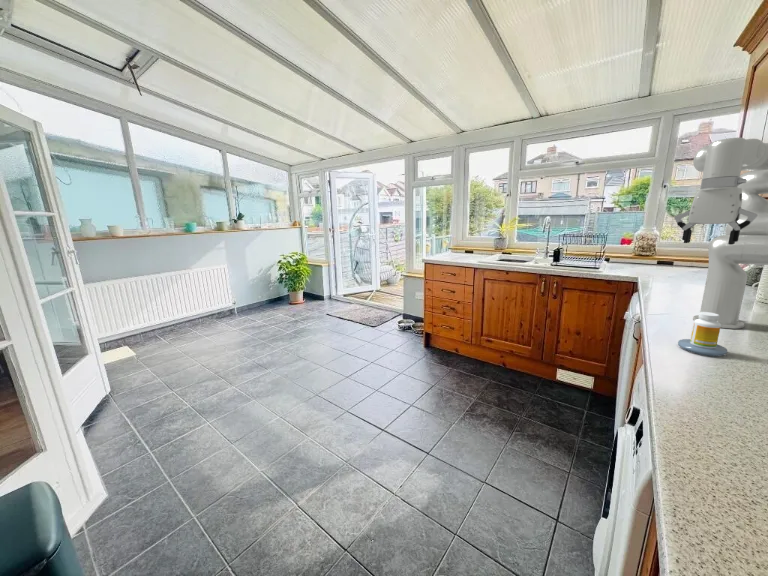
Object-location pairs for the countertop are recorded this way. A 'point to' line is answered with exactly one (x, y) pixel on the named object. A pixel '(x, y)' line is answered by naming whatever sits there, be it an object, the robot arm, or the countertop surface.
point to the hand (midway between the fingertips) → (708, 243)
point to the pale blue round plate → (702, 349)
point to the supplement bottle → (706, 330)
